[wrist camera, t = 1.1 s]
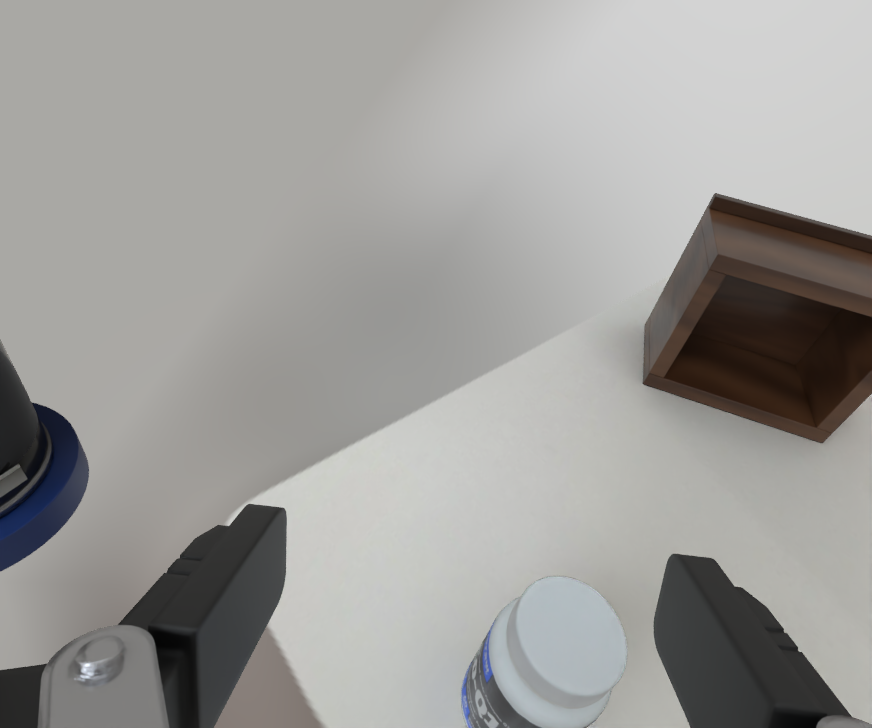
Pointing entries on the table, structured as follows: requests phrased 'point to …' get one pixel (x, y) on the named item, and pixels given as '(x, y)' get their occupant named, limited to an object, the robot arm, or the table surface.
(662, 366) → the shelf
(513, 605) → the pill bottle
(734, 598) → the robot arm
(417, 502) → the table surface
